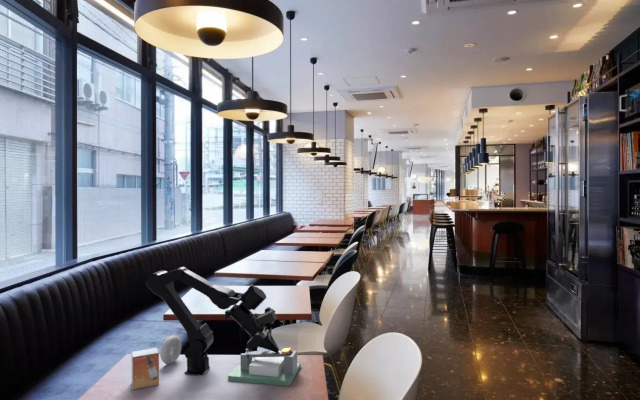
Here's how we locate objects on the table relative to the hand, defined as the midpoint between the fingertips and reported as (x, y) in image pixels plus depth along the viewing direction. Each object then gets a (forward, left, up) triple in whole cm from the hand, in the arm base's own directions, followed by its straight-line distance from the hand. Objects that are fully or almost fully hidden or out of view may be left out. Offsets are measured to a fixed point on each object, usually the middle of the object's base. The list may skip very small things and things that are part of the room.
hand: (278, 351), depth 140 cm
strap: (-4, 0, -2) cm, 4 cm away
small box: (-41, -15, -8) cm, 44 cm away
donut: (-41, +1, -8) cm, 42 cm away
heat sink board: (-5, 0, -8) cm, 9 cm away
